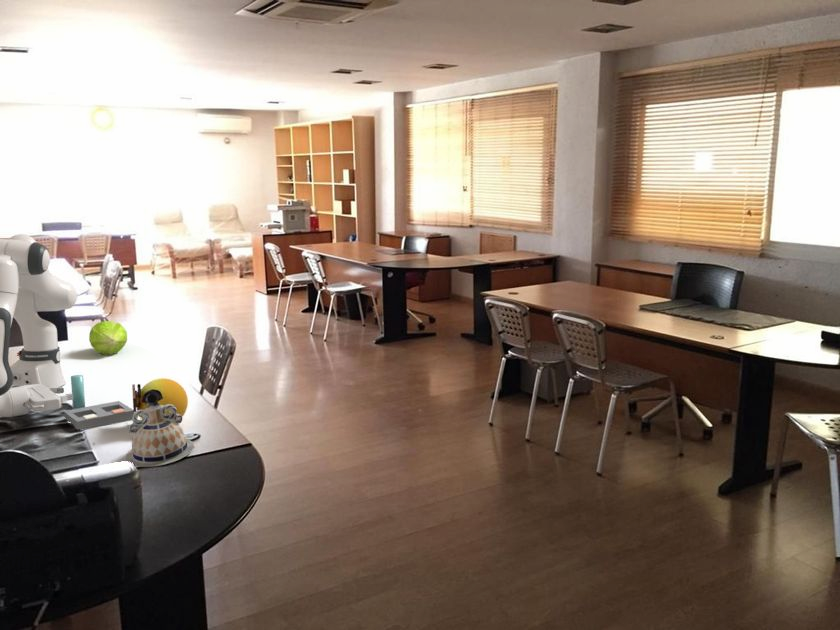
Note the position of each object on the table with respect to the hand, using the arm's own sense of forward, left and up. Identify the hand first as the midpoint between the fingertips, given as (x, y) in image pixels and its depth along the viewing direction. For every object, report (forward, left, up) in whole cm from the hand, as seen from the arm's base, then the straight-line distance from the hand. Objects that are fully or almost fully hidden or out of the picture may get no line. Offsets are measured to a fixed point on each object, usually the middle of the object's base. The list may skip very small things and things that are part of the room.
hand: (67, 393), depth 219 cm
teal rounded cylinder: (+3, +2, -7) cm, 8 cm away
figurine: (+37, -38, -7) cm, 54 cm away
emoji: (+32, -14, -7) cm, 36 cm away
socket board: (+12, -7, -7) cm, 15 cm away
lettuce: (-13, +86, -7) cm, 87 cm away
